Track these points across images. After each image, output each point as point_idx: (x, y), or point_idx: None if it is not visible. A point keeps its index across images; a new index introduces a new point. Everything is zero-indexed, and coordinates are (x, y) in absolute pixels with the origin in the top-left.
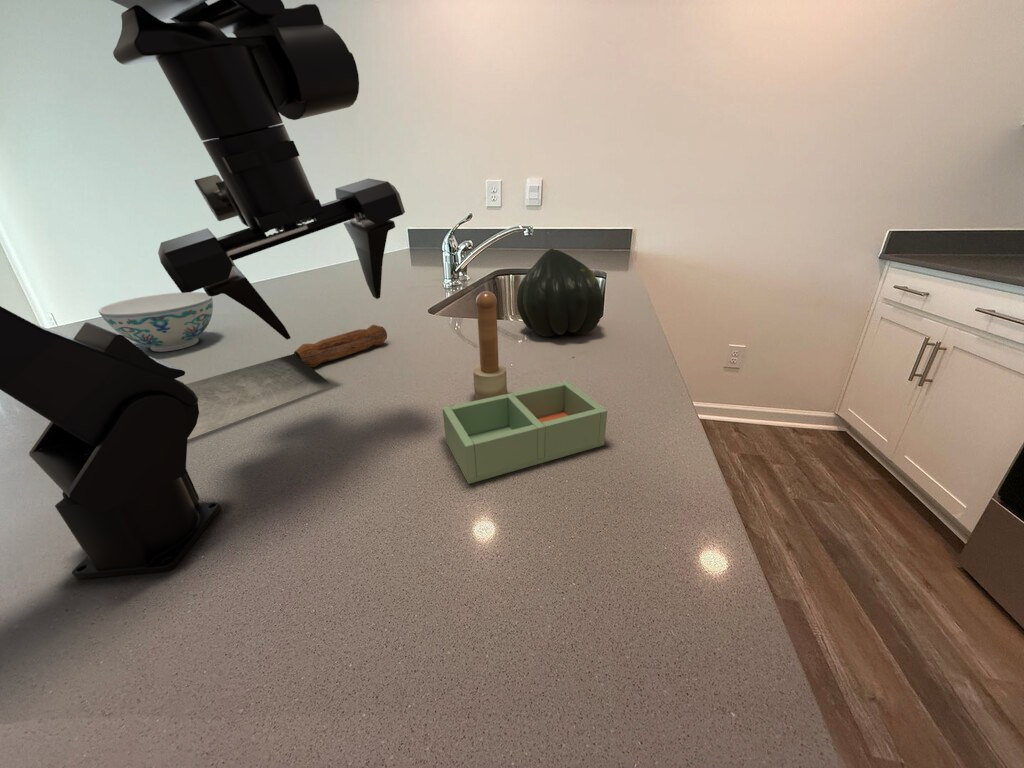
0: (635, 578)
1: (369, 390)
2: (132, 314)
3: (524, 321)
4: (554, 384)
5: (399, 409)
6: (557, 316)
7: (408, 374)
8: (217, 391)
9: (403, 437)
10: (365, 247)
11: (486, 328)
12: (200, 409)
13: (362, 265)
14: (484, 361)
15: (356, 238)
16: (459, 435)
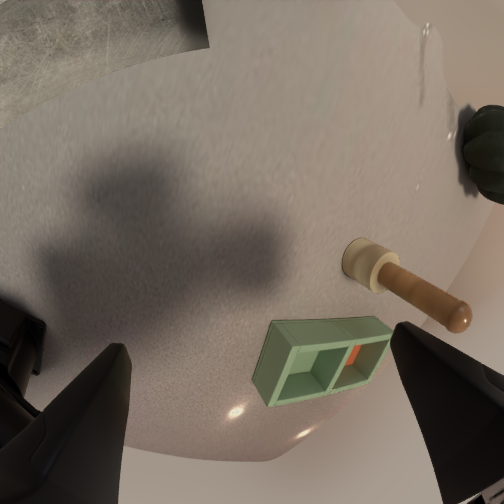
0: (273, 437)
1: (254, 112)
2: None
3: (472, 125)
4: (387, 335)
5: (265, 213)
6: (485, 186)
7: (327, 103)
8: (39, 17)
9: (237, 291)
10: (450, 468)
11: (424, 312)
12: (10, 62)
13: (453, 387)
14: (388, 287)
15: (494, 451)
16: (273, 394)
